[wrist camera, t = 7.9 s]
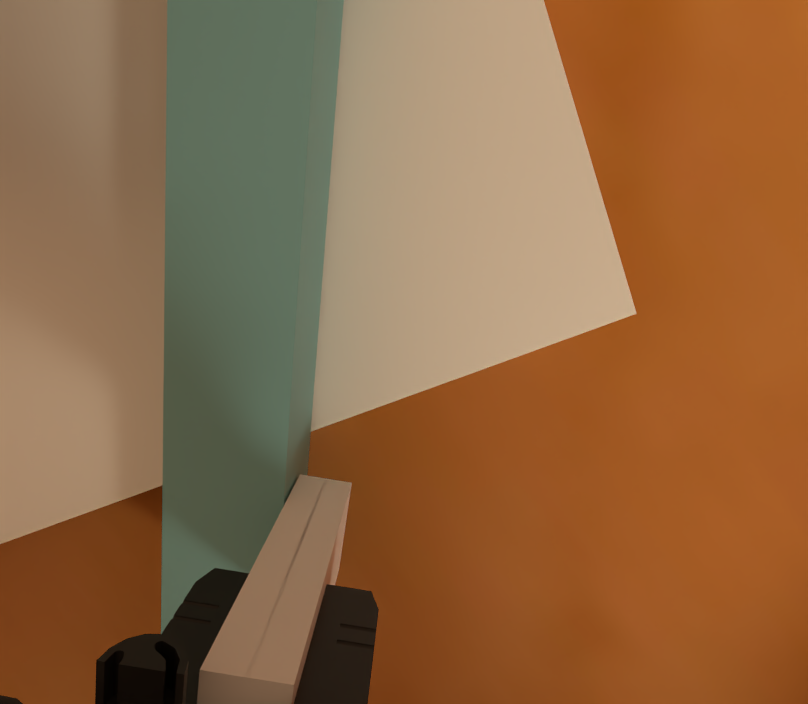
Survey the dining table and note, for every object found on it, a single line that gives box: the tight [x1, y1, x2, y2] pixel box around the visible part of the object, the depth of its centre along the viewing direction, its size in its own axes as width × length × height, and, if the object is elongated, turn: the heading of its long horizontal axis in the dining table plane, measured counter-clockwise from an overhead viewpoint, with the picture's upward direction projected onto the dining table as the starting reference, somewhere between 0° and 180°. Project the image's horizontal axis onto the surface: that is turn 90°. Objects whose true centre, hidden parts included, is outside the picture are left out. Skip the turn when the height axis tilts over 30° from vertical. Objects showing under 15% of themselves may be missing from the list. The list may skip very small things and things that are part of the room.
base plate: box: [0, 0, 636, 544], centre depth 15 cm, size 28×22×2 cm
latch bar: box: [161, 0, 344, 634], centre depth 11 cm, size 22×5×6 cm, turn 174°
